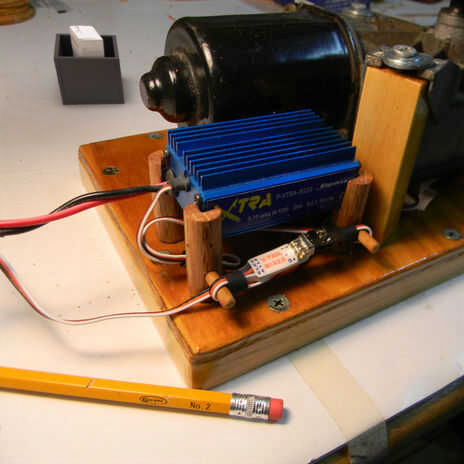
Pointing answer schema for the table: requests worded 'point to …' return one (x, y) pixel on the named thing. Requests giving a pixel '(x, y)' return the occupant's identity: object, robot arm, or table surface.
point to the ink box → (86, 42)
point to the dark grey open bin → (88, 73)
